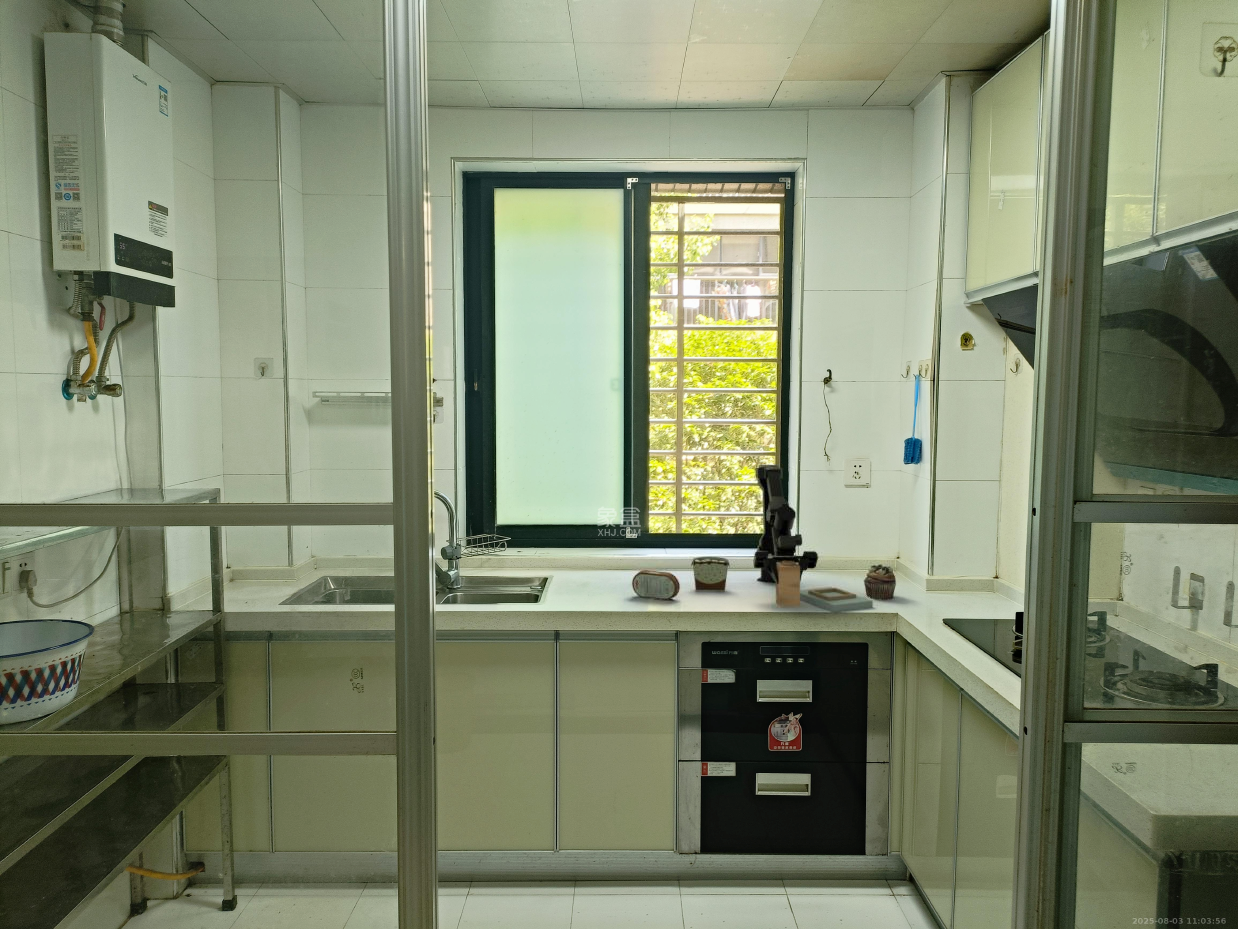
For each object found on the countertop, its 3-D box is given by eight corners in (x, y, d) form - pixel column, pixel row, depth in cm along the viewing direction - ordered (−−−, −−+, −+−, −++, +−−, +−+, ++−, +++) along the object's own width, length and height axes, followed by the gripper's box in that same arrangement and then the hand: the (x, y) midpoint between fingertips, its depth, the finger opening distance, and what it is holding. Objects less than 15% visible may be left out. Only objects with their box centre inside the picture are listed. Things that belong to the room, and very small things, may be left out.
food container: (729, 587, 271) (729, 556, 270) (729, 591, 265) (730, 560, 264) (691, 586, 272) (691, 556, 271) (690, 590, 266) (691, 559, 265)
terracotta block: (775, 601, 250) (776, 559, 249) (795, 602, 250) (796, 560, 249) (779, 606, 244) (779, 563, 243) (799, 606, 244) (800, 563, 243)
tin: (680, 600, 253) (680, 572, 252) (676, 602, 250) (676, 574, 249) (634, 595, 259) (634, 568, 259) (630, 597, 256) (630, 570, 256)
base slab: (793, 597, 256) (793, 587, 256) (830, 593, 262) (830, 583, 262) (833, 612, 238) (833, 601, 238) (872, 607, 243) (872, 597, 243)
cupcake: (901, 596, 257) (902, 564, 256) (887, 602, 250) (888, 569, 249) (872, 592, 264) (872, 560, 263) (857, 597, 257) (858, 565, 256)
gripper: (755, 524, 250) (760, 568, 240) (817, 524, 249) (825, 568, 239) (751, 546, 258) (755, 588, 248) (811, 546, 258) (818, 589, 248)
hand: (788, 583), depth 245 cm, fingers closed on terracotta block, 6 cm apart
